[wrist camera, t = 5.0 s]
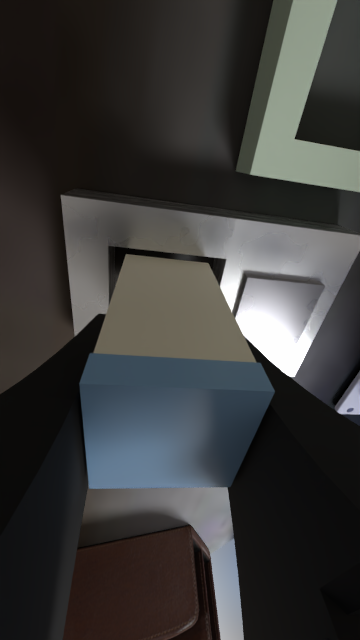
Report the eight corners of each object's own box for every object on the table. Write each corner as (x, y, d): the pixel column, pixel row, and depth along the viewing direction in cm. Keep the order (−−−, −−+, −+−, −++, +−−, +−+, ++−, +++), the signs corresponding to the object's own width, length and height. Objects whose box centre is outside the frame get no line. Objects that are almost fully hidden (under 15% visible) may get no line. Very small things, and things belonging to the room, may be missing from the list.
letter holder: (210, 548, 36) (235, 742, 24) (79, 574, 38) (44, 764, 26) (191, 522, 31) (211, 754, 19) (40, 553, 33) (-27, 781, 21)
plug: (209, 262, 11) (275, 391, 5) (195, 330, 13) (230, 486, 7) (124, 252, 10) (79, 383, 4) (122, 325, 12) (89, 488, 6)
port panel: (338, 224, 12) (371, 238, 10) (280, 353, 17) (296, 380, 15) (75, 188, 11) (58, 196, 9) (86, 341, 15) (76, 369, 13)
